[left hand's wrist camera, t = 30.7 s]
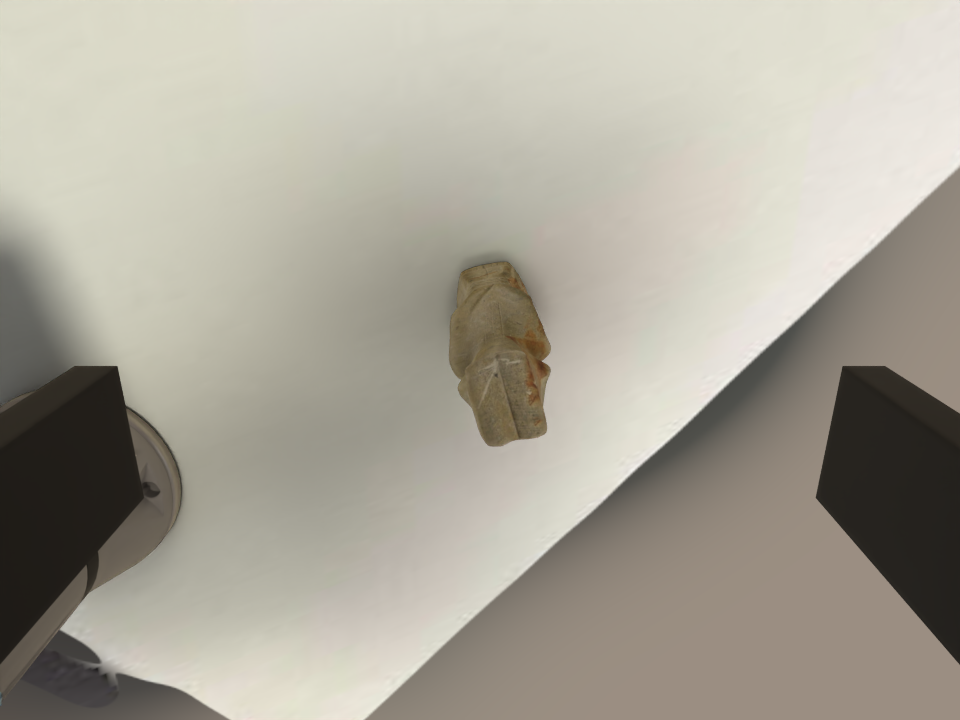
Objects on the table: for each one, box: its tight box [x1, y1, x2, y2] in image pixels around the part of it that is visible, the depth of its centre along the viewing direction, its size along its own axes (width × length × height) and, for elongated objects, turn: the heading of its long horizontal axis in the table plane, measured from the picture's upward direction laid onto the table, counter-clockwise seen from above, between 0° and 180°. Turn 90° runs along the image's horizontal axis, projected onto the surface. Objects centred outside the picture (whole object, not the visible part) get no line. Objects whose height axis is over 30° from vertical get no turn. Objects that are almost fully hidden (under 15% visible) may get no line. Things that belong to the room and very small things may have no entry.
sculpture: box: [449, 262, 551, 446], centre depth 40 cm, size 6×7×15 cm
